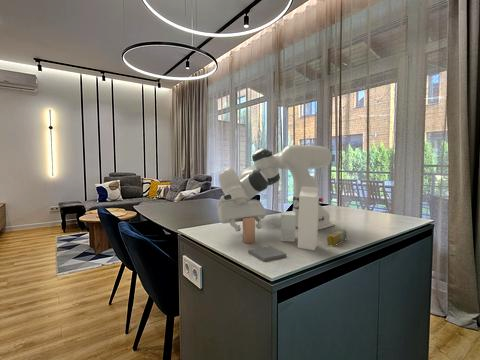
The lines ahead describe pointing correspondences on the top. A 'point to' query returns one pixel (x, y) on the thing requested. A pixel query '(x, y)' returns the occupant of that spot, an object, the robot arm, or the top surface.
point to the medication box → (337, 237)
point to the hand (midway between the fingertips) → (249, 229)
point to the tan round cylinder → (249, 230)
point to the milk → (308, 218)
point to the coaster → (267, 253)
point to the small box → (288, 226)
